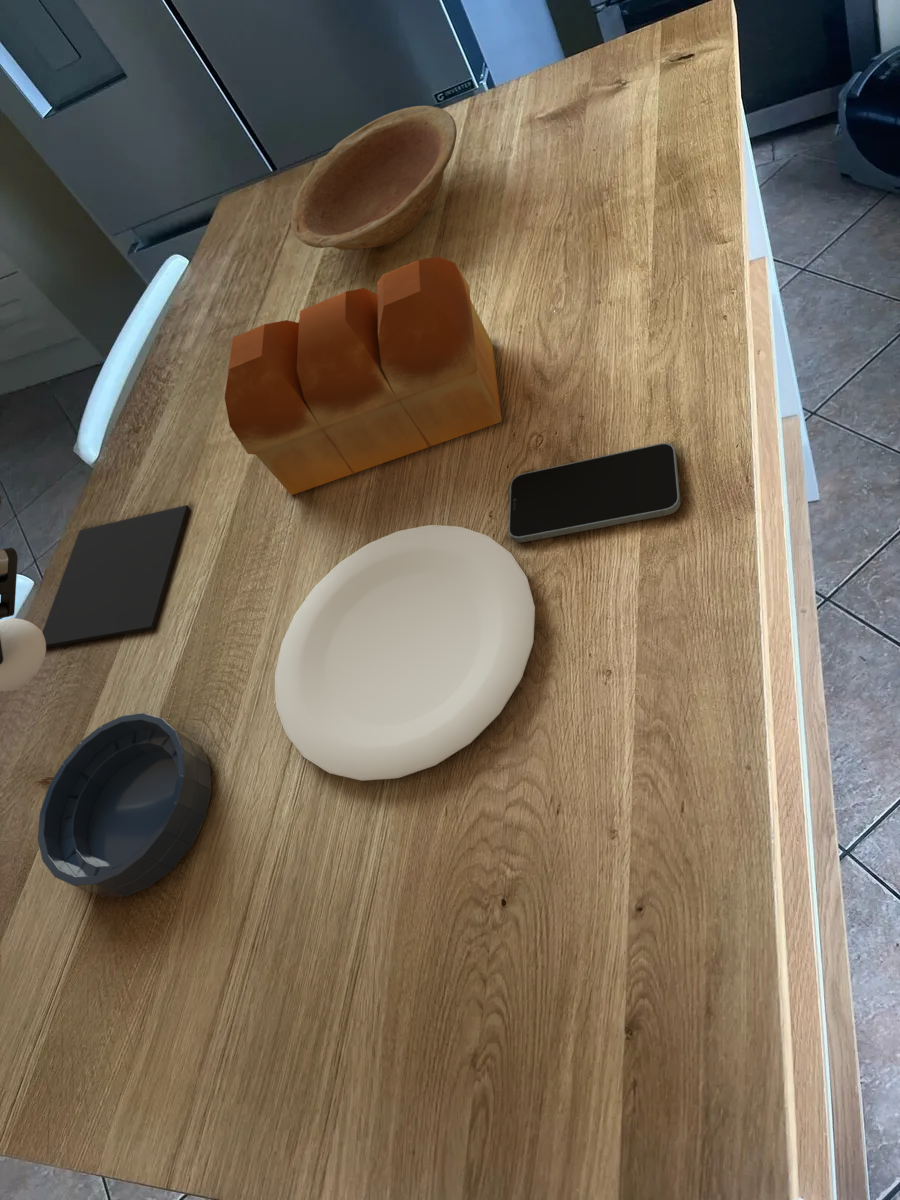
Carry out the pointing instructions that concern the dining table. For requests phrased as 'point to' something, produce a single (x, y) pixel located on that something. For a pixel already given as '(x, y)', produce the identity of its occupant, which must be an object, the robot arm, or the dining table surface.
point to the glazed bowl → (124, 806)
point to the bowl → (376, 181)
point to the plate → (405, 653)
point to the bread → (364, 377)
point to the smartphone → (594, 493)
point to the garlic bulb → (20, 653)
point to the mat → (116, 578)
